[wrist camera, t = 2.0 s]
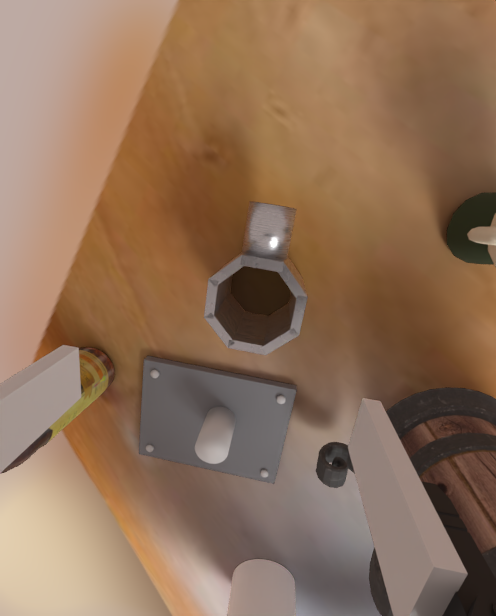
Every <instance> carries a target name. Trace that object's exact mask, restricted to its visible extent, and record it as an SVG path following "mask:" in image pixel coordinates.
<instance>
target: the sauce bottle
mask: <svg viewBox="0 0 496 616" xmlns="http://www.w3.org/2000/svg"><path fill="white" fill-rule="evenodd" d="M79 363H80V381H81V398H80V399H79V400H78V401H77V402H76V403H75V404H74V405H73V406H72V407H71V408H69V409H68V410H67V411H66V412H65V413H64V414H63V415H62V416H61V417H60V418H59V419H58V420H57V421H56V422H54V423H53V424H52V425H51V426H50V427H49V428H48V429H47V430H46V431H45V432H44V433H43V434H42V435H41V436H40V437H38V438H37V439H36V440H35V441H34V442H33V443H32V444H31V445H30V446H29V447H28V448H27V449H26V450H25V451H23V452H22V453H21V454H20V455H19V456H18V457H17V458H16V459H15V460H14V461H13V462H12V463H11V464H10V465H8V466H7V467H6V468H5V469H4V470H3V471H2V472H1V473H4V472H7V471H8V470H10V469H12V468H14V467H17V466H19V465H20V464H21V463H23V462H24V461H26V460H27V459H28V458H29V457H30V456H31V455H32V454H34V453H35V452H36V451H37V450H38V449H39V448H40V447H42V446H44V445H46V444H47V443H48V442H49V441H50V440H51V439H52V438H53V437H55V436H56V435H57V434H58V433H59V432H60V431H61V430H62V429H63V428H64V427H66V426H67V425H68V424H69V423H70V422H71V421H72V420H73V419H74V418H76V417H77V416H78V415H79V414H80V413H81V412H82V411H83V410H85V409H86V408H87V407H88V406H89V405H90V404H91V403H92V402H93V401H95V400H96V399H97V398H98V397H99V396H100V395H101V394H102V393H103V392H104V391H105V390H106V388H107V387H108V386H109V385H110V384H111V382H112V381H113V379H114V375H115V370H114V366H113V364H112V362H111V360H110V359H109V358H108V357H107V355H105V354H104V353H103V352H102V351H100V350H98V349H95V348H89V347H85V348H79Z"/></svg>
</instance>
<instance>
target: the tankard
mask: <svg viewBox="0 0 496 616" xmlns="http://www.w3.org/2000/svg"><path fill="white" fill-rule="evenodd" d="M386 413H387V415H388V417H389V419H390V421H391V423H392V425H393V427H394V429H395V431H396V433H397V435H398V437H399V439H400V441H401V443H402V445H403V447H404V449H405V451H406V453H407V455H408V457H409V459H410V461H411V463H412V465H413V467H414V469H415V470H416V472H417V474H418V476H419V478H420V480H421V481H423V482H428V483H433V484H436V485H437V486H438V487H439V488H440V489H441V490H442V491H443V492H444V493H445V494H446V495H447V496H448V497H449V499H450V500H451V502H452V503H453V505H454V507H455V509H456V510H457V512H458V514H459V518H460V519H462V521H463V522H464V524H465V526H466V528H467V532H468V533H470V535H471V536H472V538H473V540H474V542H475V543H476V545H477V547H478V549H479V550H480V552H481V554H482V556H483V557H484V559H485V561H486V562H487V564H488V566H489V568H490V569H491V571H492V573H493V575H494V576H495V578H496V399H495V398H493V397H491V396H489V395H486V394H484V393H481V392H479V391H474V390H470V389H465V388H439V389H431V390H427V391H424V392H420V393H417V394H414V395H412V396H410V397H408V398H405V399H403V400H401V401H400V402H398V403H397V404H395V405H394V406H393V407H391V408H390V409H389V410H388V411H387V412H386ZM330 462H332V465H331V464H329V463H330ZM348 468H349V469H350V470H351V471H352V472H354V469H353V465H352V461H351V458H350V454H349V450H348V445H346V444H343V443H338V442H331V443H328V444H326V445H324V446H323V447H322V448H321V450H320V451H319V457H318V462H317V468H316V472H317V475H318V478H319V479H320V480H321V481H322V482H323V484H325V485H327V486H329V487H334V488H338V487H340V486H343V484H344V482H345V480H346V475H347V471H348ZM354 474H355V472H354ZM369 581H370V588H371V594H372V597H373V600H374V602H375V605H376V607H377V610H378V611H379V613H380V614H381V615H382V616H393V613H392V609H391V605H390V602H389V598H388V594H387V591H386V587H385V583H384V580H383V576H382V572H381V568H380V565H379V561H378V557H377V554H376V550H375V547H374V551H373V555H372V558H371V562H370V573H369Z"/></svg>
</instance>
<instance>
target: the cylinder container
mask: <svg viewBox="0 0 496 616" xmlns="http://www.w3.org/2000/svg"><path fill="white" fill-rule="evenodd" d="M227 616H296V600H295V581H294V578H293V576H292V574H291V573H290V572H289V571H288V570H287V569H286V568H285V567H283V566H282V565H280V564H278V563H276V562H273V561H270V560H265V559H252V560H248V561H245V562H243V563H241V564H239V565H238V566H237V567H236V569H235V570H234V573H233V578H232V585H231V592H230V599H229V606H228V613H227Z"/></svg>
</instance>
